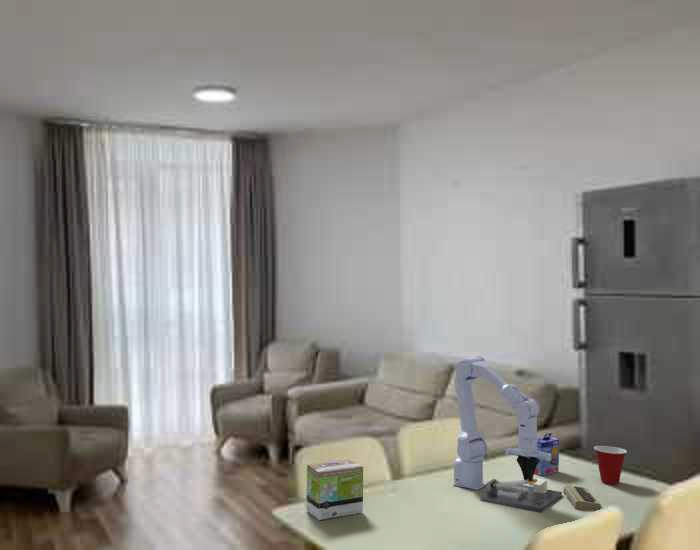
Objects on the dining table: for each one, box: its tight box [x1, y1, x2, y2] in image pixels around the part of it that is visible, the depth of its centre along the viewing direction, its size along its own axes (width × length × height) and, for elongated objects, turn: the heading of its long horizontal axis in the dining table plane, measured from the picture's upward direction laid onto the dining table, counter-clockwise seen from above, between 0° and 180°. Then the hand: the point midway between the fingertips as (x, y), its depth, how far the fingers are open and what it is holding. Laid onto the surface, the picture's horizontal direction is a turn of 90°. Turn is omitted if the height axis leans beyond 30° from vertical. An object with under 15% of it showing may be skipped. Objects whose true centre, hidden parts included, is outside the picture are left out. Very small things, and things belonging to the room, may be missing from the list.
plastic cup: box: [593, 445, 628, 486], centre depth 247 cm, size 11×11×12 cm
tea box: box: [305, 458, 364, 521], centre depth 219 cm, size 15×10×15 cm, turn 117°
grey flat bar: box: [492, 478, 537, 488], centre depth 230 cm, size 15×4×1 cm, turn 54°
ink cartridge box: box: [534, 432, 560, 477], centre depth 259 cm, size 10×6×14 cm, turn 125°
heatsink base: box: [480, 478, 563, 513], centre depth 231 cm, size 20×19×4 cm
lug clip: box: [528, 477, 548, 494], centre depth 232 cm, size 4×6×4 cm, turn 144°
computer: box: [562, 485, 602, 510], centre depth 228 cm, size 16×8×3 cm, turn 177°
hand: (528, 480), depth 228 cm, fingers closed
